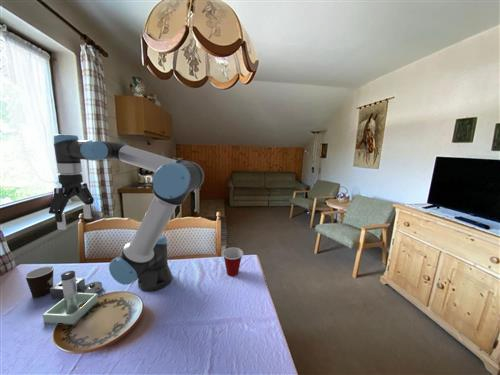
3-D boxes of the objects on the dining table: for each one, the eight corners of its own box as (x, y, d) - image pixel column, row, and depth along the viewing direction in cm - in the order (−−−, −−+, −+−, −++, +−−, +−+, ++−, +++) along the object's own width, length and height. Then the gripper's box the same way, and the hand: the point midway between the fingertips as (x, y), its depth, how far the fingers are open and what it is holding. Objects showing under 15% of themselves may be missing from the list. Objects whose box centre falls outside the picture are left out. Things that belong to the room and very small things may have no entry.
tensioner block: (85, 287, 96) (84, 277, 95) (70, 300, 88) (68, 289, 87) (68, 287, 96) (66, 277, 95) (51, 299, 88) (49, 288, 87)
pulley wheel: (106, 286, 97) (105, 279, 96) (94, 296, 90) (93, 289, 89) (91, 285, 97) (90, 279, 96) (78, 296, 90) (77, 289, 90)
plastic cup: (219, 278, 106) (219, 256, 104) (225, 266, 116) (225, 246, 114) (240, 280, 104) (241, 258, 102) (244, 268, 115) (244, 248, 113)
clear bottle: (81, 306, 84) (77, 270, 81) (73, 314, 80) (68, 277, 77) (72, 306, 84) (67, 270, 81) (63, 313, 80) (57, 276, 77)
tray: (98, 301, 87) (97, 293, 87) (73, 324, 76) (72, 315, 75) (72, 300, 88) (71, 292, 87) (43, 323, 76) (42, 314, 75)
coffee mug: (39, 301, 86) (35, 279, 85) (23, 297, 88) (19, 276, 86) (68, 284, 98) (65, 264, 96) (53, 281, 99) (50, 262, 98)
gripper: (83, 170, 97) (88, 214, 101) (29, 177, 73) (38, 234, 76) (100, 171, 98) (104, 214, 101) (52, 177, 73) (59, 235, 77)
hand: (76, 223), depth 89 cm, fingers open, 13 cm apart
